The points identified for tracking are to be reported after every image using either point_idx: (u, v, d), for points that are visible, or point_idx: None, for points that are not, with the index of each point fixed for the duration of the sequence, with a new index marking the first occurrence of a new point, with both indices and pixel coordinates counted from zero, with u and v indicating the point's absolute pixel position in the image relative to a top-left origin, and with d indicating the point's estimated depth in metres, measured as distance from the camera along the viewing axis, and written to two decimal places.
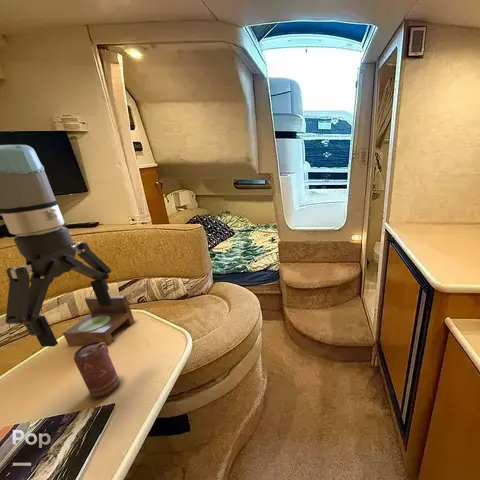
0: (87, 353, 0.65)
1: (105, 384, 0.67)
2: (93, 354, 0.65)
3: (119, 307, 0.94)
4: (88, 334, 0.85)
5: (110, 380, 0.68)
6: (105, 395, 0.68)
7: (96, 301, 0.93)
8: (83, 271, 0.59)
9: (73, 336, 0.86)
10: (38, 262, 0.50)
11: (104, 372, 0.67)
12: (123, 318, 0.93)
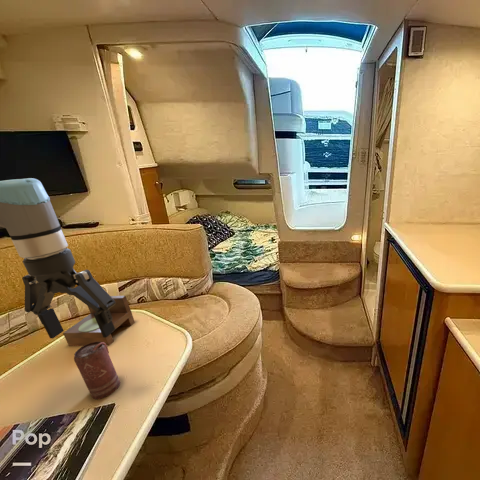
0: (87, 353, 0.65)
1: (105, 384, 0.67)
2: (93, 354, 0.65)
3: (119, 307, 0.94)
4: (88, 334, 0.85)
5: (110, 380, 0.68)
6: (105, 395, 0.68)
7: None
8: (50, 297, 0.61)
9: (73, 336, 0.86)
10: None
11: (104, 372, 0.67)
12: (123, 318, 0.93)
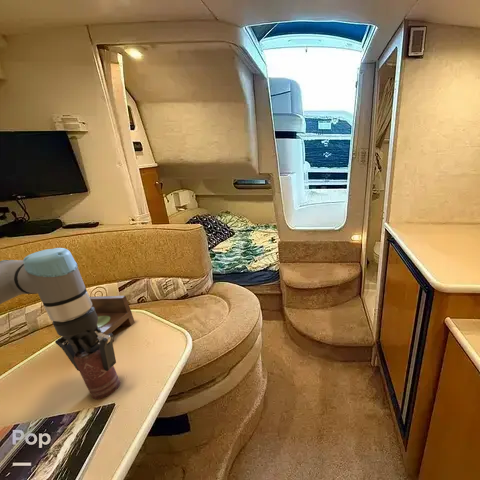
0: (87, 353, 0.65)
1: (105, 384, 0.67)
2: (93, 354, 0.65)
3: (119, 307, 0.94)
4: None
5: (110, 380, 0.68)
6: (105, 395, 0.68)
7: (96, 301, 0.93)
8: None
9: None
10: None
11: (104, 371, 0.67)
12: (123, 318, 0.93)
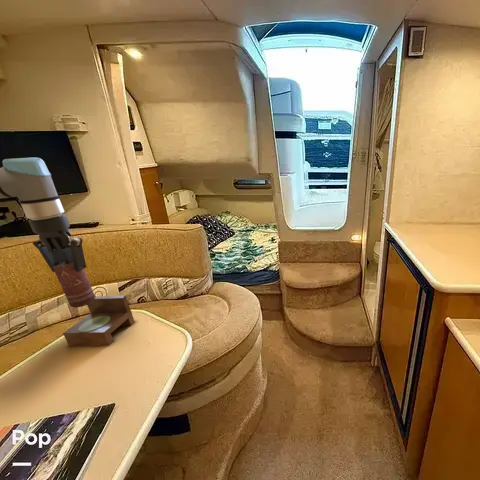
0: (64, 264, 0.77)
1: (80, 293, 0.79)
2: (69, 264, 0.76)
3: (119, 307, 0.94)
4: (88, 334, 0.85)
5: (85, 290, 0.80)
6: (81, 303, 0.80)
7: (96, 301, 0.93)
8: (61, 256, 0.78)
9: (73, 336, 0.86)
10: None
11: (79, 282, 0.79)
12: (123, 318, 0.93)
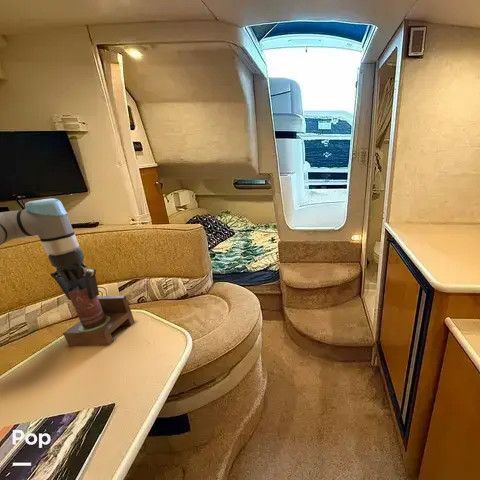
0: (78, 289, 0.84)
1: (93, 315, 0.86)
2: (83, 290, 0.83)
3: (119, 307, 0.94)
4: (88, 334, 0.85)
5: (97, 313, 0.87)
6: (93, 324, 0.86)
7: None
8: (77, 285, 0.85)
9: (73, 336, 0.86)
10: None
11: (92, 305, 0.85)
12: (123, 318, 0.93)
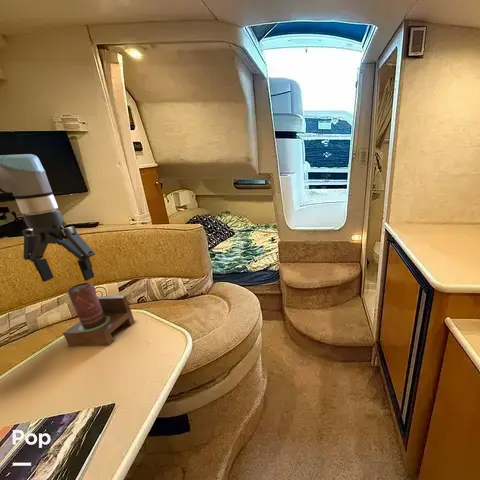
0: (78, 289, 0.84)
1: (93, 316, 0.86)
2: (83, 290, 0.83)
3: (119, 307, 0.94)
4: (88, 334, 0.85)
5: (97, 313, 0.87)
6: (93, 324, 0.86)
7: None
8: (43, 248, 0.79)
9: (73, 336, 0.86)
10: None
11: (92, 305, 0.85)
12: (123, 318, 0.93)
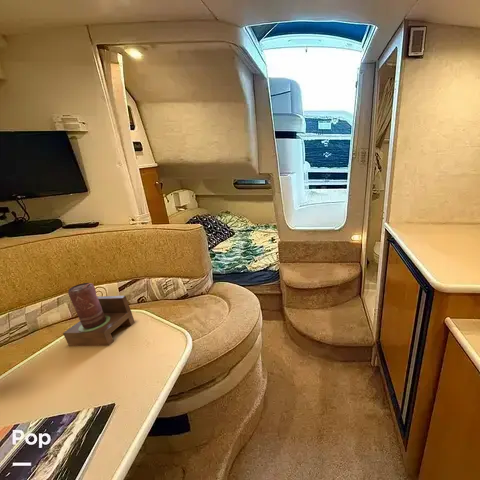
0: (78, 289, 0.84)
1: (93, 316, 0.86)
2: (83, 290, 0.83)
3: (119, 307, 0.94)
4: (88, 334, 0.85)
5: (97, 313, 0.87)
6: (93, 324, 0.86)
7: None
8: None
9: (73, 336, 0.86)
10: None
11: (92, 305, 0.85)
12: (123, 318, 0.93)
